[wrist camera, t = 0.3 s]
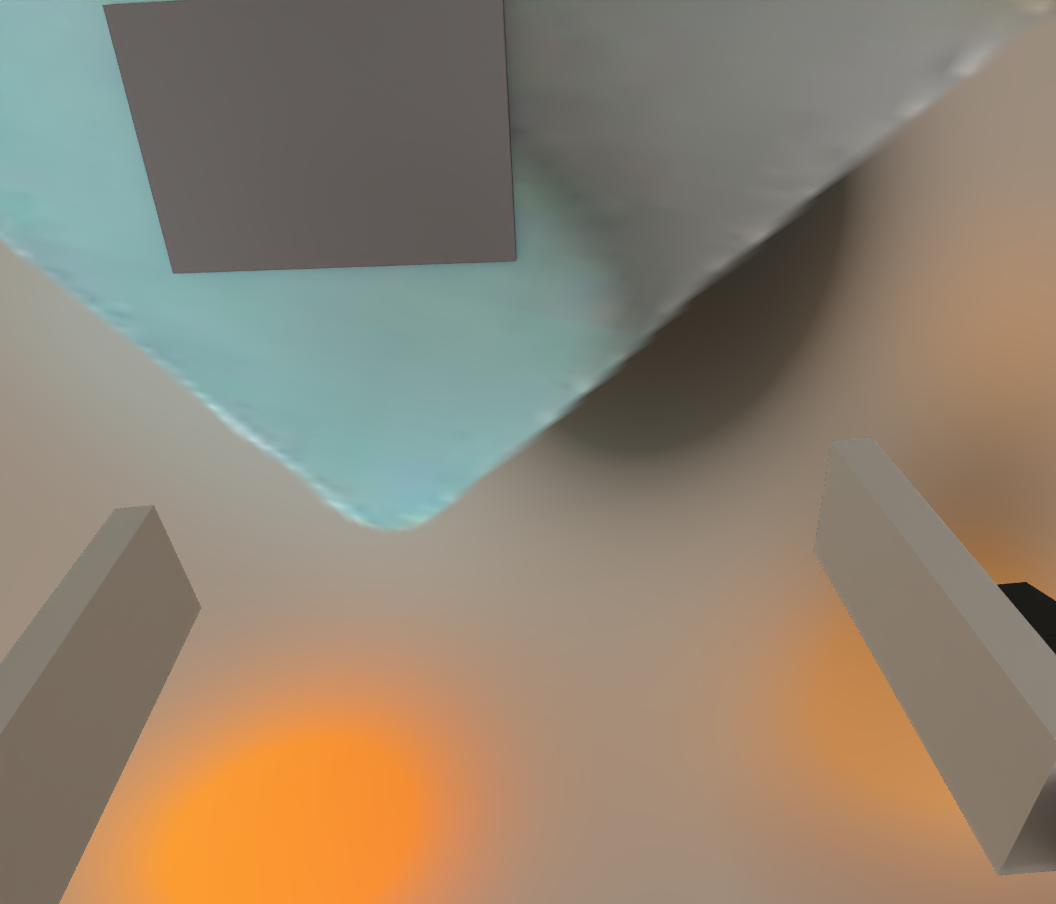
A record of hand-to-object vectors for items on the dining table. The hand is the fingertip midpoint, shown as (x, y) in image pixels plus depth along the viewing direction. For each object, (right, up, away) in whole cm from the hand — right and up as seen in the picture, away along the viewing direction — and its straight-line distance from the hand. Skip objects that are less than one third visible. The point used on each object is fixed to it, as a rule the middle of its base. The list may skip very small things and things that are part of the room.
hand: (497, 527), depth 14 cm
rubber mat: (-9, +17, +21) cm, 28 cm away
